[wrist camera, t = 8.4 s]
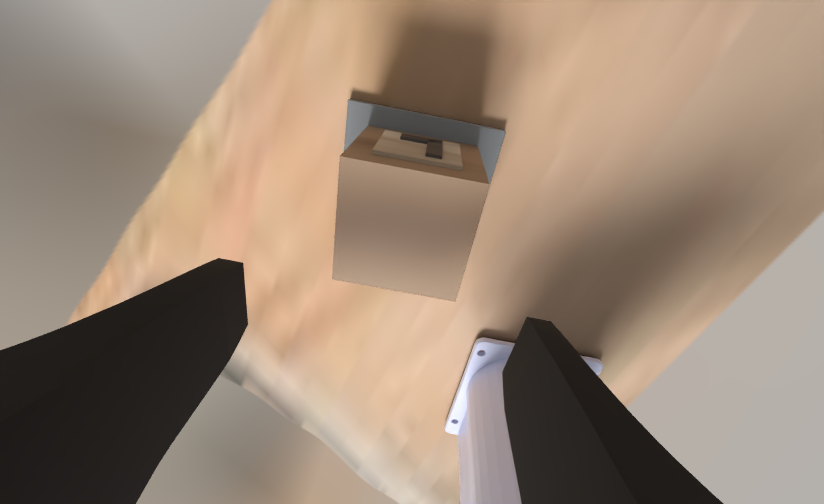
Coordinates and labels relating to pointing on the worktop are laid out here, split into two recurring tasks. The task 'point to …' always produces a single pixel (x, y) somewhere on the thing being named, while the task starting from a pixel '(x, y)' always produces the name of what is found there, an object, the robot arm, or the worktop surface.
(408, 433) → the worktop surface
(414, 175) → the letter cube
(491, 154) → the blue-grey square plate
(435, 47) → the worktop surface
